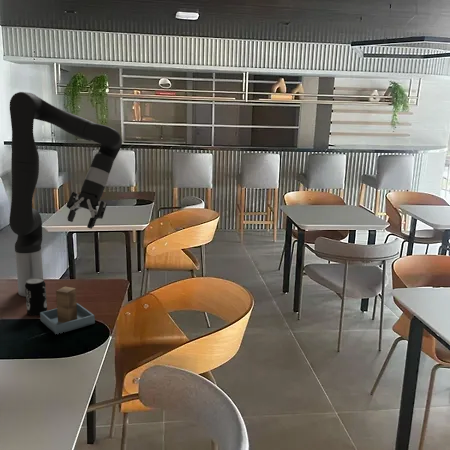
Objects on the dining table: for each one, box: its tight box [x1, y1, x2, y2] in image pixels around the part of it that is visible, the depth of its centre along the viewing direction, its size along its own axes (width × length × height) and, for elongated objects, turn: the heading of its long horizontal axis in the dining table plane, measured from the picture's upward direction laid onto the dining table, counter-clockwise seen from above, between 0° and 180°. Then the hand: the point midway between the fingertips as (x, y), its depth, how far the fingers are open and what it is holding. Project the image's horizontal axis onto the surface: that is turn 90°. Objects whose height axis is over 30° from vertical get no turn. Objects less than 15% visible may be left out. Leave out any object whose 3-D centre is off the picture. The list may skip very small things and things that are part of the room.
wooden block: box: [55, 286, 78, 323], centre depth 155 cm, size 4×4×11 cm
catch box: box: [39, 302, 96, 335], centre depth 156 cm, size 13×13×3 cm
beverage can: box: [25, 277, 48, 317], centre depth 162 cm, size 7×7×12 cm
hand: (79, 224), depth 165 cm, fingers open, 8 cm apart
